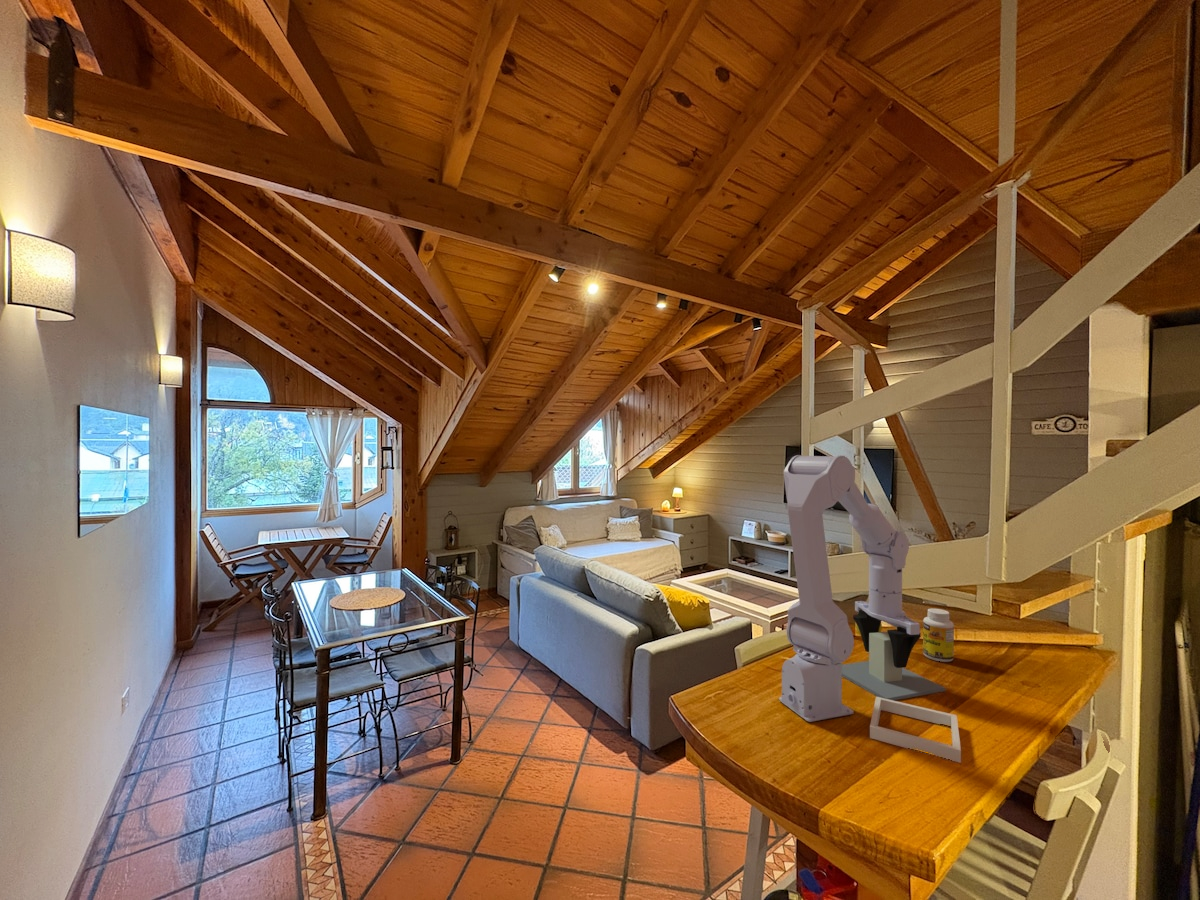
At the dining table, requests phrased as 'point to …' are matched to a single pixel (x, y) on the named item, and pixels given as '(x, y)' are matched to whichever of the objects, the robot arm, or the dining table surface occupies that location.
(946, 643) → the supplement bottle
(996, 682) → the dining table surface
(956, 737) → the rectangular frame
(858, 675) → the mat
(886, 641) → the block
